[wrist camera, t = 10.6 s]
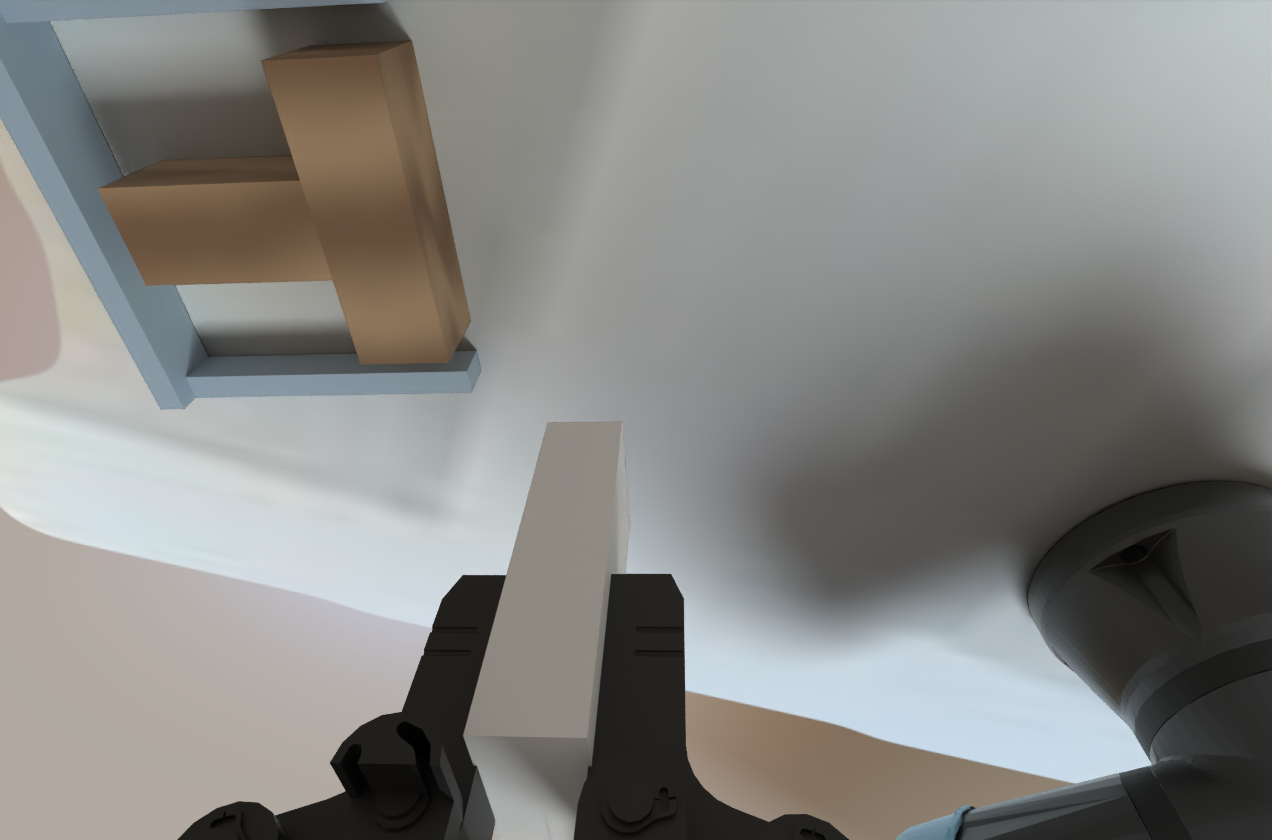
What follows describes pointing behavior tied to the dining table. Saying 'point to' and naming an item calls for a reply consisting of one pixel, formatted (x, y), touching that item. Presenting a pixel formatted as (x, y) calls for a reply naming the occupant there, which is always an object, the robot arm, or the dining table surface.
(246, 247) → the t block
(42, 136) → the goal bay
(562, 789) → the robot arm
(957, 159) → the dining table surface
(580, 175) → the dining table surface
